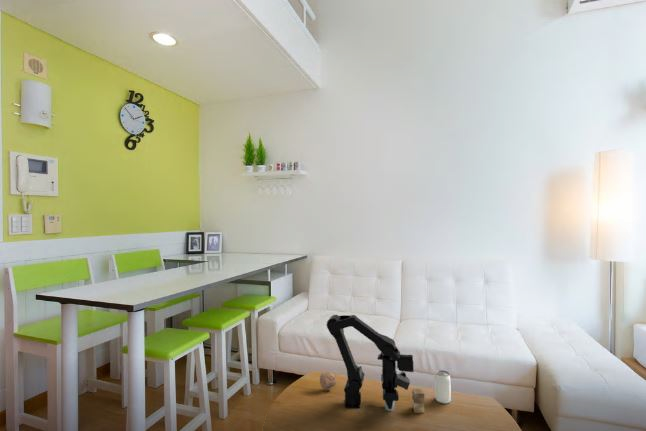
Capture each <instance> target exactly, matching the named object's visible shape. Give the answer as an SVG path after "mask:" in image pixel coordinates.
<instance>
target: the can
mask: <svg viewBox="0 0 646 431" xmlns="http://www.w3.org/2000/svg"><path fill="white" fill-rule="evenodd" d="M434 381H435V382H434V387H435V388H434V393H435V394H434V395H435V401H437V402H438V403H441V404H444V405H445V404H450V403H451V402H452V398H451V396H452V391H451V390H452V389H451V388H452V387H451V376H450V372H448V371H447V370H443V369H442V370H441V369H439V370H437V371H435V374H434Z"/></svg>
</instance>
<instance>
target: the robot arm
mask: <svg viewBox="0 0 646 431" xmlns="http://www.w3.org/2000/svg"><path fill="white" fill-rule="evenodd" d="M350 327H351V328H352V327H353V328H354V330H356V331H358V332H359V333H360V334H362V335H363V336H364V337H365V338H367V339H369V341H371V342H372V343H374V345H375V347H376V348H377V349H378V350H379V351H380V353H379V354H378V355H377V360H380V361H382V362H381V363H382V364H381V375H380V380H381V381H380V382H381V388H382V399H383V401H384V402H385V401H386V404H387V406H388V408H389V409H391V408H392V404H393V401H394V402H398V401H399V400H400V399H399V398H400V397H399V391H398V390H397V389H396V388H398V387H400V388H402V389H404V390H406V391H407V390H408V389H409V387H410V383H411V382H410V378H409V377H408V376H407V374H406V373H414V371H415V370H414V356H413V354H401V351H400V350H399V349H398V346H396V342H395V340H394V339H393V338H392V337H389V336H387V335H384V334H381V333H379V332H378V331H376V330H375V329H374V328H373V327H370V326H369V325H368V324H367V323H366V322H364V321H363V320H361V319H360V318H359V317H358V316H357V315H355V314H350V315H349V314H348V315H343V314H342V315H338V314H333V315H332V316H330V318H329V319H327V322H326V329H327V330H328V332H329V333H330V335H331V336H332V337H333V339H334V340H335V341H336V345H337V347H338V350H339V352H340V355H341V357H342V360H343V363H344V366H345V368H346V376H347V381H346V383H345V385H344V388H343V392H344V408H351V409H353V408H354V409H359V408H360V407H361V404H362V394H361V393H362V392H361V391H360V389H361V388H362V387H363V384H364V379H365V373H364V372H363V371H364V370H363V367H362V366H361V365H360V366H358V365H357V364H356V362H355V359H354V357H353V354H352V351H351V348H350V346H349V343H348V341H347V338H346V336H345V330H344V329H345V328H350ZM397 369H398V371H399V372H400V373H397Z"/></svg>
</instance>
